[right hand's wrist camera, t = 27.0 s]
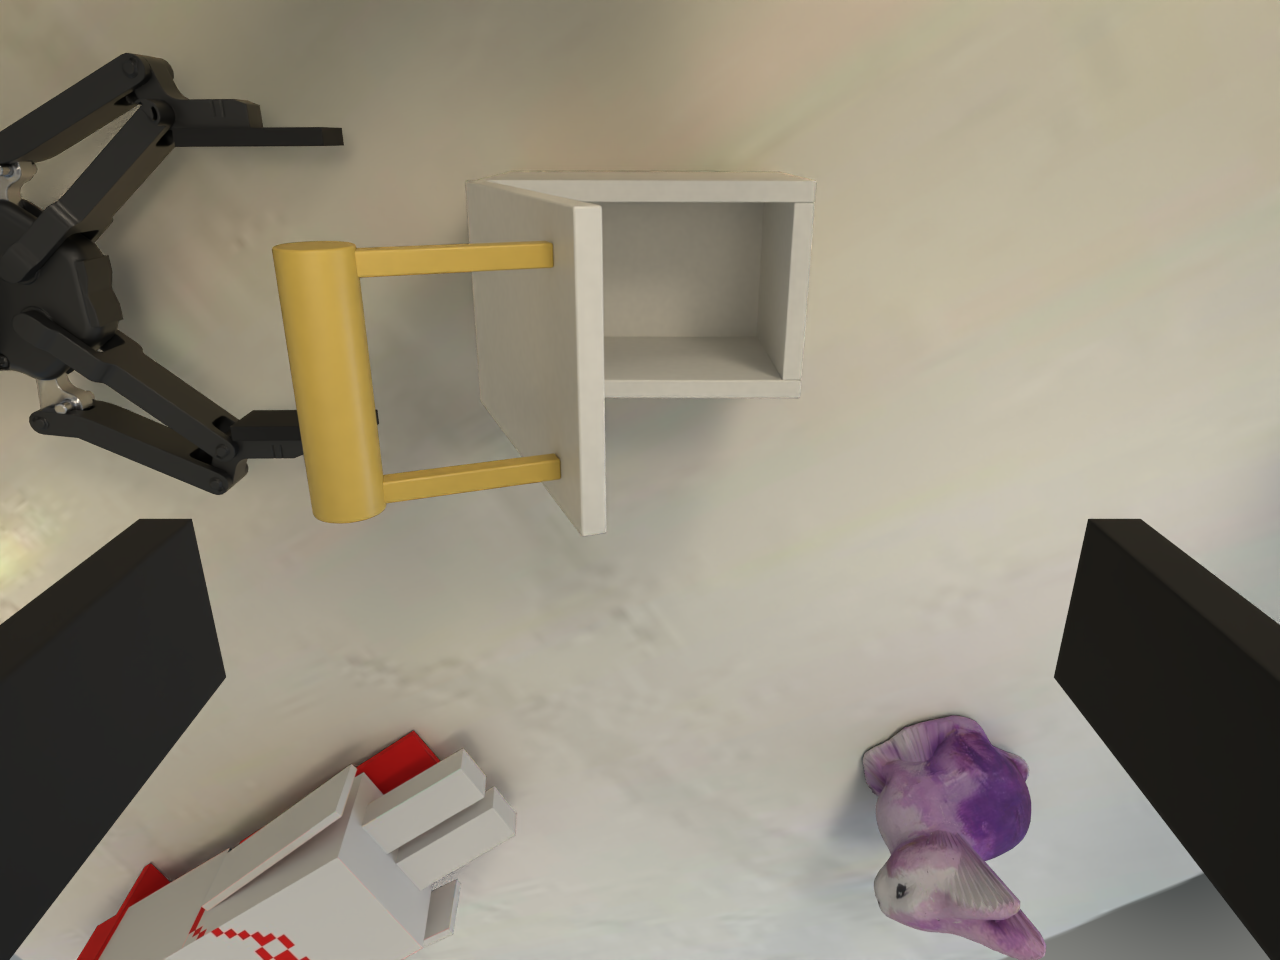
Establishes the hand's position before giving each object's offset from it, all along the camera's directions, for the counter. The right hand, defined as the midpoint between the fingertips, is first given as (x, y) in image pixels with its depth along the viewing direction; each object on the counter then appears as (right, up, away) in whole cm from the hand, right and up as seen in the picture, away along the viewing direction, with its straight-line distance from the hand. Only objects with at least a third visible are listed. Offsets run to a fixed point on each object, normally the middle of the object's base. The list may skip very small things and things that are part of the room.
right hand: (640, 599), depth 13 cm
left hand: (-14, +11, +28) cm, 33 cm away
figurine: (+20, -18, +47) cm, 55 cm away
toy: (-23, -24, +50) cm, 60 cm away
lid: (-4, +7, +18) cm, 20 cm away
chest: (0, +14, +34) cm, 37 cm away
